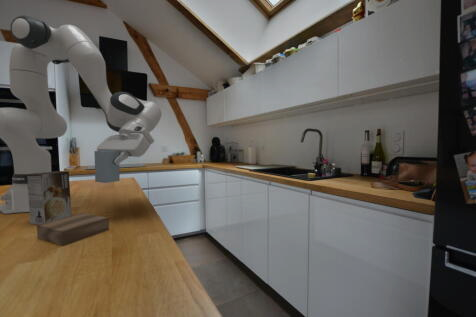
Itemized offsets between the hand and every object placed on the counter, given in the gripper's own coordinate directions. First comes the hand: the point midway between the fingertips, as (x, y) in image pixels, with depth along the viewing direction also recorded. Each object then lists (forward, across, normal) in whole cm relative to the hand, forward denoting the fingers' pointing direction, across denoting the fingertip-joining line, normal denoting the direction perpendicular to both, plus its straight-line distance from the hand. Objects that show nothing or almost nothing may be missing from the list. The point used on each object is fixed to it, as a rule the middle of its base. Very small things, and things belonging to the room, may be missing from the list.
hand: (108, 163), depth 75 cm
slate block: (+4, 0, +4) cm, 6 cm away
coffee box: (+20, -18, +8) cm, 28 cm away
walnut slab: (+22, +2, +5) cm, 23 cm away
